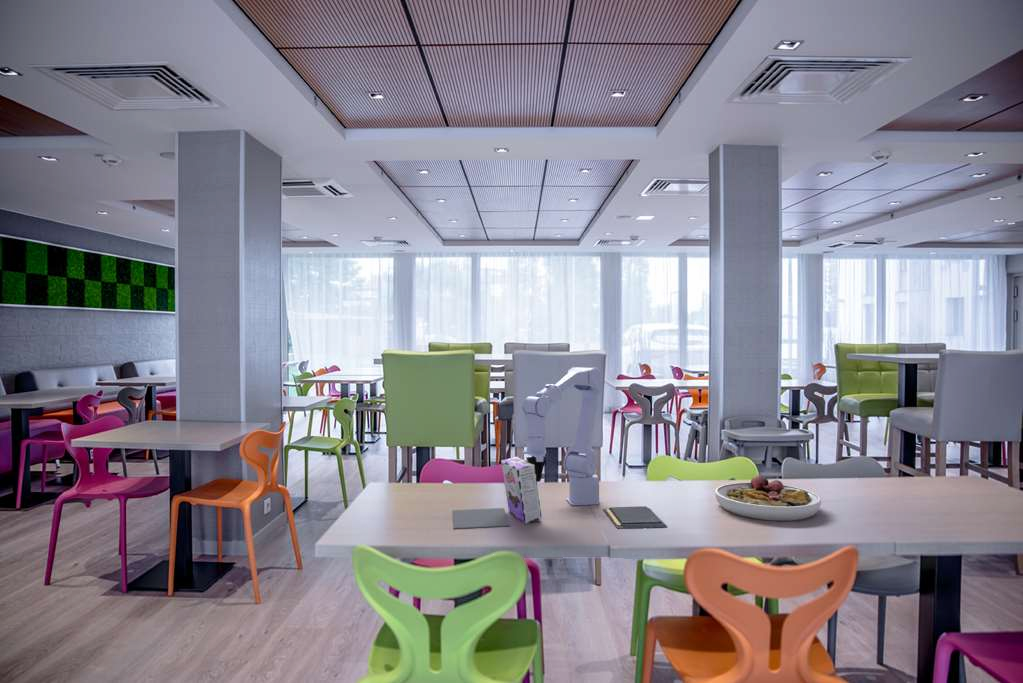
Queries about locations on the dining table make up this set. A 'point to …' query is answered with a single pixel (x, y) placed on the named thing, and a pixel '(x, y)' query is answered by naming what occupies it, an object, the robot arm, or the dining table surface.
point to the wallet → (633, 518)
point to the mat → (480, 518)
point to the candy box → (521, 489)
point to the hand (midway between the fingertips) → (536, 481)
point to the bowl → (768, 500)
